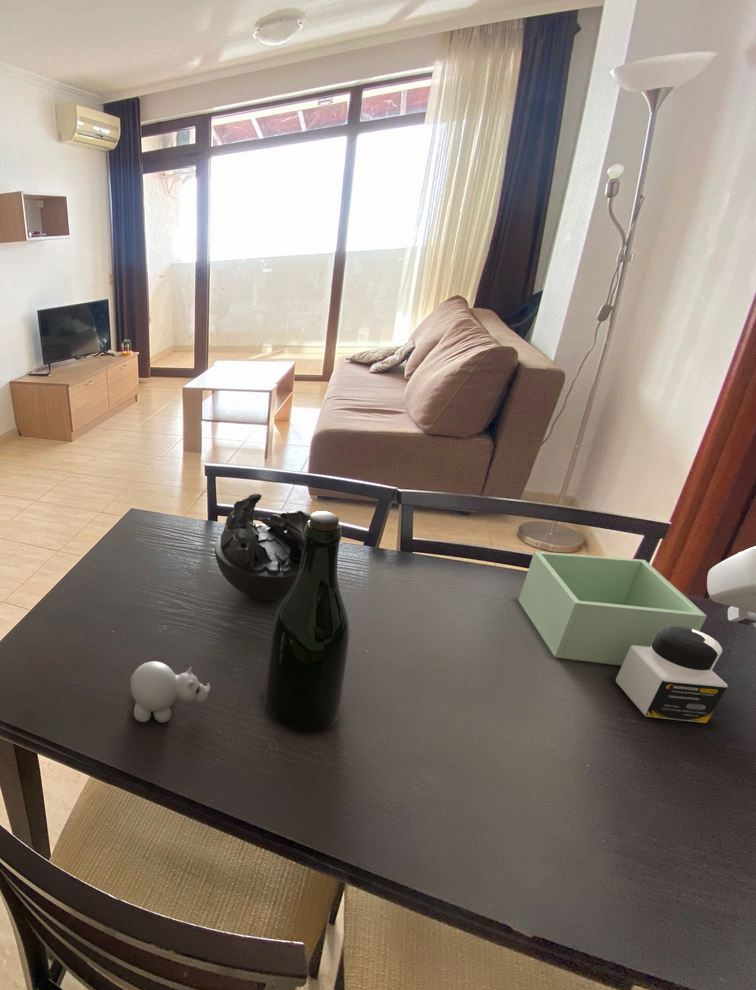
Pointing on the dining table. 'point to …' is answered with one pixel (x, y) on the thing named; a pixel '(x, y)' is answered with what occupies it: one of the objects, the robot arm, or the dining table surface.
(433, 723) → the dining table surface
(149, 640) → the dining table surface
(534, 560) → the open storage box
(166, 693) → the chubby cartoon animal
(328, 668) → the beer bottle
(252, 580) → the coal bowl
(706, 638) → the medicine bottle
